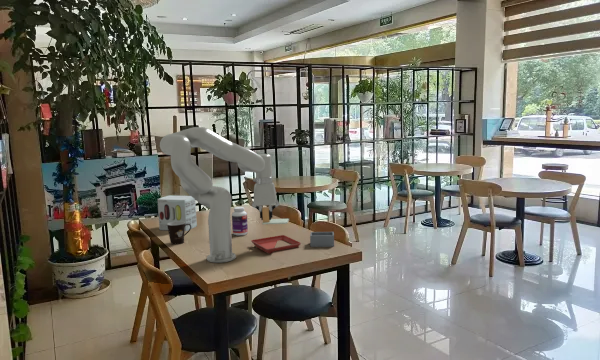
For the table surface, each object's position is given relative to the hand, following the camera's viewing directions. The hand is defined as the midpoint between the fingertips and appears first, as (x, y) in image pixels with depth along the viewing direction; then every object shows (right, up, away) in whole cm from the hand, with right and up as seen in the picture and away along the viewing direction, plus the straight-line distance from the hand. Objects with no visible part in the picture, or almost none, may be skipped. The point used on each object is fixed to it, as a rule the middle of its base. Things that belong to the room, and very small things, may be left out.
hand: (266, 219), depth 211 cm
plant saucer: (+4, -14, +1) cm, 15 cm away
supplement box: (-54, -10, +47) cm, 72 cm away
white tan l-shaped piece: (+4, -1, 0) cm, 5 cm away
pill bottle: (-16, -11, +28) cm, 34 cm away
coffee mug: (-44, -13, +15) cm, 49 cm away
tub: (+26, -13, +1) cm, 29 cm away
